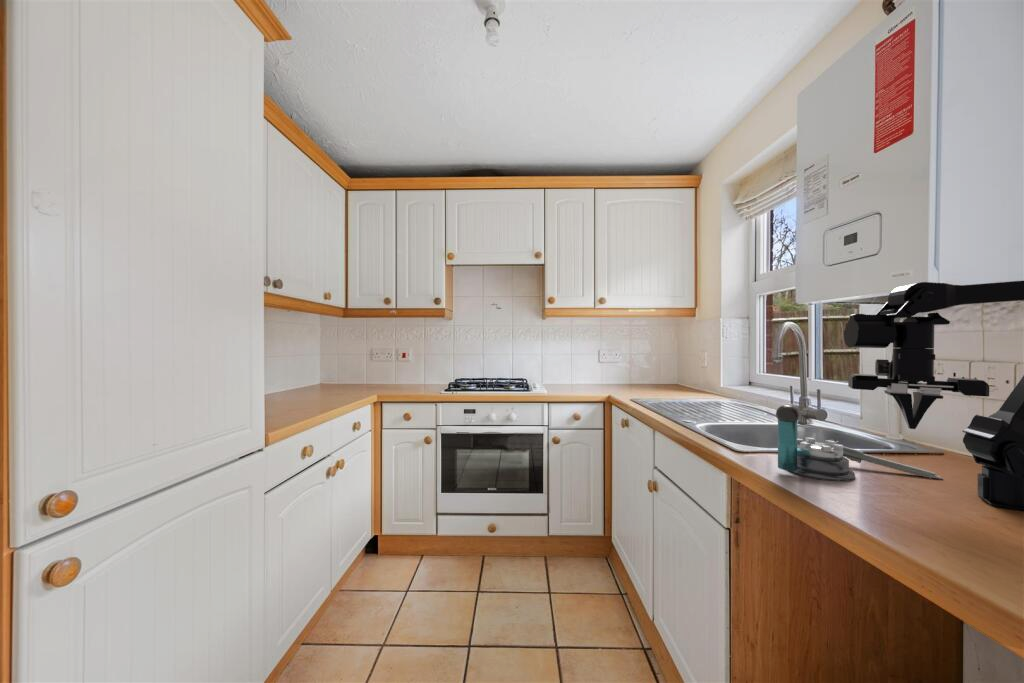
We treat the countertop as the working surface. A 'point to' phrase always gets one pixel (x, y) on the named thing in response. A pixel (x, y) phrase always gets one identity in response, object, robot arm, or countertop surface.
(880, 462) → the caliper
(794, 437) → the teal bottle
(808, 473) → the cap housing
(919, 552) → the countertop surface
